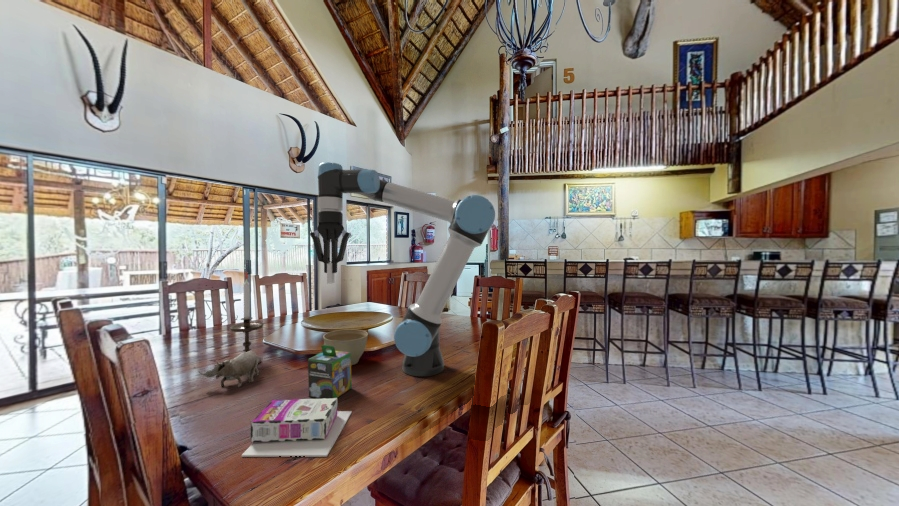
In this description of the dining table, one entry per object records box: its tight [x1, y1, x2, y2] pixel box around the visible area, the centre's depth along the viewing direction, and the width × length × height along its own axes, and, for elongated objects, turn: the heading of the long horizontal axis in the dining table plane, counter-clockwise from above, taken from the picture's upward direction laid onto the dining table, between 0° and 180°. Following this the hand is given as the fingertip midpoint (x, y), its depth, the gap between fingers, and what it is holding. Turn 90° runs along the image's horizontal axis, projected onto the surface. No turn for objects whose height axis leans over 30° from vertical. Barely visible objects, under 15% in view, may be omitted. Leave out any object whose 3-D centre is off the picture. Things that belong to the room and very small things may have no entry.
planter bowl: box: [322, 328, 369, 366], centre depth 123 cm, size 16×16×11 cm
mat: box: [241, 410, 353, 458], centre depth 77 cm, size 18×18×1 cm
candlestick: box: [228, 270, 264, 364], centre depth 121 cm, size 11×11×35 cm
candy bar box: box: [250, 398, 338, 444], centre depth 78 cm, size 11×5×16 cm
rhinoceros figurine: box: [198, 350, 260, 388], centre depth 105 cm, size 8×14×15 cm
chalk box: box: [307, 344, 353, 399], centre depth 98 cm, size 9×9×15 cm
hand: (330, 282), depth 107 cm, fingers closed
